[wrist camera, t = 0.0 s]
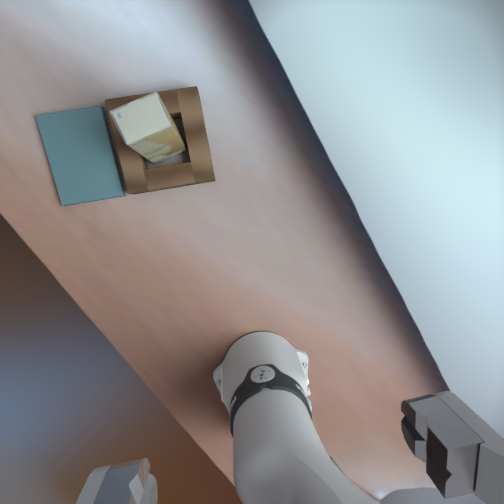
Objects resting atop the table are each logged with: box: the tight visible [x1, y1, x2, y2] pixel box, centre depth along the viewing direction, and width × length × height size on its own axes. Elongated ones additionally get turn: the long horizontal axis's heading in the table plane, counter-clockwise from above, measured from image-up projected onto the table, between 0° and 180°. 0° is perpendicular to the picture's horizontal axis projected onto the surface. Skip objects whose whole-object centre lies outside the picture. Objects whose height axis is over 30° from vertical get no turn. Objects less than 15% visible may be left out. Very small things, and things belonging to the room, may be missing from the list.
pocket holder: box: [105, 86, 215, 194], centre depth 41 cm, size 14×14×2 cm
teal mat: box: [36, 106, 125, 206], centre depth 41 cm, size 14×10×1 cm
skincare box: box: [110, 92, 186, 164], centre depth 36 cm, size 6×4×12 cm
